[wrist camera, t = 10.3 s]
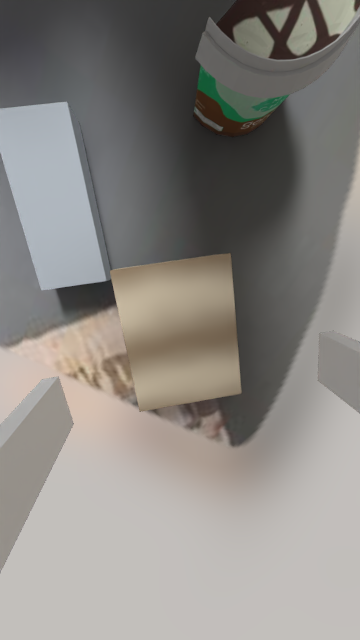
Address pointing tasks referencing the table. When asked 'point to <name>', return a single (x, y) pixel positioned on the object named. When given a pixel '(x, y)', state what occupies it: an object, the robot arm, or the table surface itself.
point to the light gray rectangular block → (54, 194)
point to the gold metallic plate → (179, 330)
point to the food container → (266, 57)
